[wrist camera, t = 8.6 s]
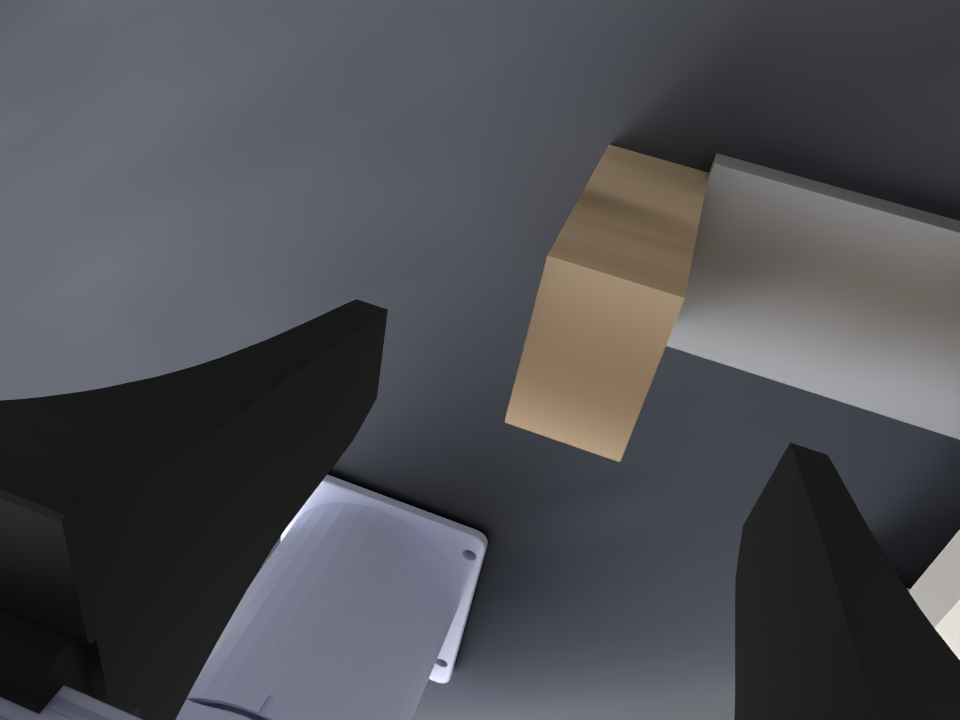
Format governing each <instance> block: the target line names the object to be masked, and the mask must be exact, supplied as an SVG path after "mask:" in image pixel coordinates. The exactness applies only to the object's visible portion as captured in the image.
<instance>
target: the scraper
mask: <svg viewBox="0 0 960 720" xmlns="http://www.w3.org/2000/svg"><path fill="white" fill-rule="evenodd" d="M666 346H668V347H672V348H675V349H678V350H681V351H684V352H687V353H690V354H693V355H697V356H700V357H703V358H706V359H709V360H712V361H715V362H718V363H722V364H725V365H728V366H731V367H734V368H737V369H740V370H743V371H747V372H750V373H753V374H756V375H759V376H762V377H765V378H768V379H772V380H775V381H778V382H781V383H784V384H787V385H790V386H793V387H797V388H800V389H803V390H806V391H809V392H812V393H815V394H818V395H822V396H825V397H828V398H831V399H834V400H837V401H840V402H843V403H847V404H850V405H853V406H856V407H859V408H862V409H865V410H868V411H872V412H875V413H878V414H881V415H884V416H887V417H890V418H893V419H897V420H900V421H903V422H906V423H909V424H912V425H915V426H918V427H922V428H925V429H928V430H931V431H934V432H937V433H940V434H943V435H947V436H950V437H953V438H956V439H959V440H960V221H958V220H954V219H951V218H947V217H944V216H940V215H936V214H933V213H929V212H926V211H922V210H918V209H915V208H911V207H908V206H904V205H901V204H897V203H893V202H890V201H886V200H883V199H879V198H876V197H872V196H868V195H865V194H861V193H858V192H854V191H850V190H847V189H843V188H840V187H836V186H833V185H829V184H825V183H822V182H818V181H815V180H811V179H807V178H804V177H800V176H797V175H793V174H790V173H786V172H782V171H779V170H775V169H772V168H768V167H765V166H761V165H757V164H754V163H750V162H747V161H743V160H739V159H736V158H732V157H729V156H725V155H722V154H718V153H716V155H715V158H714V160H713V163H712V166H711V168H710V171H709V173H708V172H704V171H701V170H697V169H694V168H690V167H687V166H683V165H680V164H676V163H673V162H669V161H666V160H662V159H659V158H655V157H652V156H648V155H645V154H641V153H637V152H634V151H630V150H627V149H623V148H620V147H616V146H613V145H608V147H607V148H606V150H605V152H604V154H603V156H602V157H601V159H600V161H599V163H598V165H597V166H596V168H595V170H594V172H593V174H592V176H591V177H590V179H589V181H588V183H587V185H586V186H585V188H584V190H583V192H582V194H581V195H580V197H579V199H578V201H577V203H576V205H575V206H574V208H573V210H572V212H571V214H570V215H569V217H568V219H567V221H566V223H565V224H564V226H563V228H562V230H561V232H560V233H559V235H558V237H557V239H556V241H555V243H554V244H553V246H552V248H551V250H550V252H549V253H548V255H547V259H546V263H545V266H544V270H543V274H542V278H541V282H540V286H539V290H538V294H537V298H536V301H535V305H534V309H533V313H532V317H531V321H530V325H529V329H528V333H527V336H526V340H525V344H524V348H523V352H522V356H521V360H520V364H519V368H518V371H517V375H516V379H515V383H514V387H513V391H512V395H511V399H510V403H509V406H508V410H507V414H506V418H505V423H508V424H511V425H514V426H517V427H520V428H523V429H525V430H528V431H531V432H534V433H537V434H540V435H543V436H546V437H548V438H551V439H554V440H557V441H560V442H563V443H566V444H569V445H572V446H574V447H577V448H580V449H583V450H586V451H589V452H592V453H595V454H598V455H600V456H603V457H606V458H609V459H612V460H615V461H618V462H620V461H621V459H622V456H623V454H624V451H625V448H626V446H627V443H628V441H629V438H630V436H631V433H632V431H633V428H634V426H635V423H636V421H637V418H638V415H639V413H640V410H641V408H642V405H643V403H644V400H645V398H646V395H647V393H648V390H649V388H650V385H651V383H652V380H653V377H654V375H655V372H656V370H657V367H658V365H659V362H660V360H661V357H662V355H663V352H664V350H665V347H666Z"/></svg>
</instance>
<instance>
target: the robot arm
mask: <svg viewBox="0 0 960 720" xmlns="http://www.w3.org/2000/svg"><path fill="white" fill-rule="evenodd" d="M387 311H388V310H387V309H384V308H381V307H378V306H375V305H372V304H369V303H366V302H363V301H360V300H357V299H356V300H354V301H352V302H349V303H347V304H345V305H342V306H340V307H338V308H336V309H334V310H332V311H329V312H327V313H325V314H323V315H321V316H319V317H317V318H315V319H312V320H310V321H308V322H306V323H304V324H301V325H299V326H297V327H295V328H293V329H290V330H288V331H286V332H284V333H281V334H279V335H277V336H275V337H272V338H270V339H268V340H265V341H262V342H260V343H257V344H255V345H252V346H250V347H247V348H244V349H242V350H239V351H237V352H234V353H232V354H229V355H226V356H224V357H221V358H218V359H215V360H212V361H209V362H206V363H203V364H200V365H197V366H194V367H190V368H187V369H183V370H180V371H176V372H173V373H169V374H165V375H162V376H158V377H153V378H149V379H144V380H139V381H135V382H130V383H125V384H121V385H116V386H111V387H107V388H101V389H96V390H89V391H83V392H77V393H70V394H62V395H54V396H47V397H38V398H29V399H18V400H3V401H0V720H412V718H413V716H414V713H415V711H416V709H417V706H418V704H419V701H420V699H421V697H422V694H423V692H424V689H425V687H426V684H427V682H428V680H429V679H431V680H433V681H436V682H439V683H446V682H448V681H449V680H450V678H451V675H452V672H453V668H454V665H455V661H456V657H457V654H458V650H459V646H460V643H461V639H462V636H463V632H464V628H465V625H466V621H467V617H468V614H469V610H470V606H471V603H472V599H473V596H474V592H475V588H476V585H477V581H478V577H479V574H480V570H481V566H482V563H483V559H484V556H485V552H486V548H487V545H488V540H487V538H486V536H485V535H484V534H483V533H482V532H480V531H478V530H475V529H473V528H470V527H467V526H465V525H462V524H459V523H457V522H454V521H451V520H449V519H446V518H443V517H440V516H438V515H435V514H432V513H430V512H427V511H424V510H422V509H419V508H416V507H413V506H411V505H408V504H405V503H403V502H400V501H397V500H395V499H392V498H389V497H387V496H384V495H381V494H378V493H376V492H373V491H370V490H368V489H365V488H362V487H360V486H357V485H354V484H352V483H349V482H346V481H343V480H341V479H338V478H335V477H333V476H330V475H327V474H328V473H329V472H330V470H331V469H332V468H333V466H334V465H335V464H336V462H337V461H338V460H339V458H340V457H341V456H342V454H343V453H344V452H345V450H346V449H347V448H348V446H349V445H350V443H351V442H352V441H353V439H354V437H355V436H356V434H357V432H358V431H359V429H360V427H361V425H362V424H363V422H364V420H365V418H366V416H367V415H368V413H369V411H370V409H371V407H372V405H373V404H374V402H375V400H376V398H377V392H378V384H379V376H380V368H381V360H382V351H383V343H384V335H385V327H386V319H387ZM280 536H281V542H280V544H279V545H278V547H277V548H276V549H275V551H274V552H273V554H272V555H271V557H270V558H269V559H268V561H267V562H266V564H265V565H264V566H263V568H262V569H261V571H260V572H259V573H258V571H259V569H260V568H261V566H262V564H263V563H264V561H265V560H266V558H267V556H268V555H269V553H270V551H271V550H272V548H273V546H274V545H275V544H276V542H277V541H278V539H279V538H280ZM469 550H470V551H469ZM471 551H472V552H471ZM257 573H258V575H257V576H256V574H257ZM255 576H256V578H255ZM254 578H255V579H254ZM253 579H254V580H253ZM252 581H253V582H252ZM250 584H251V585H250ZM735 720H960V660H959V659H958V657H957V656H956V655H955V654H954V652H953V651H952V650H951V649H950V647H949V646H948V645H947V643H946V642H945V641H944V640H943V638H942V637H941V636H940V635H939V633H938V632H937V631H936V630H935V628H934V627H933V625H932V624H931V623H930V621H929V620H928V619H927V617H926V616H925V615H924V613H923V612H922V610H921V609H920V608H919V606H918V605H917V603H916V602H915V600H914V599H913V597H912V596H911V594H910V593H909V591H908V590H907V588H906V587H905V586H904V584H903V583H902V581H901V580H900V578H899V577H898V575H897V574H896V572H895V570H894V569H893V567H892V566H891V564H890V563H889V561H888V559H887V558H886V556H885V555H884V553H883V551H882V550H881V548H880V546H879V545H878V543H877V541H876V540H875V538H874V536H873V535H872V533H871V531H870V529H869V528H868V526H867V524H866V523H865V521H864V519H863V517H862V516H861V514H860V512H859V510H858V508H857V507H856V505H855V503H854V501H853V499H852V498H851V496H850V494H849V492H848V490H847V489H846V487H845V485H844V483H843V481H842V479H841V478H840V476H839V474H838V472H837V470H836V469H835V467H834V465H833V463H832V462H831V460H830V458H829V457H828V455H826V454H823V453H820V452H817V451H814V450H811V449H808V448H805V447H802V446H799V445H796V444H792V443H790V444H789V446H788V448H787V449H786V451H785V453H784V455H783V456H782V458H781V460H780V462H779V464H778V465H777V467H776V469H775V471H774V472H773V474H772V476H771V478H770V479H769V481H768V483H767V485H766V487H765V488H764V490H763V492H762V494H761V495H760V497H759V499H758V501H757V502H756V504H755V506H754V508H753V509H752V511H751V513H750V515H749V517H748V518H747V520H746V522H745V524H744V525H743V531H742V537H741V544H740V550H739V557H738V565H737V572H736V591H735Z"/></svg>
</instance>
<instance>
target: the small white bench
mask: <svg viewBox="0 0 960 720" xmlns="http://www.w3.org/2000/svg"><path fill="white" fill-rule="evenodd" d="M907 590H908V591H909V593H910V594H911V596H912V597H913V599H914V600H915V602H916V603H917V605H918V606H919V608H920V609H921V610H922V612H923V613H924V615H925V616H926V617H927V619H928V620H929V621H930V623H931V624H932V625H933V627H934V628H935V630H936V631H937V632H938V633H939V635H940V636H941V637H942V638H943V640H944V641H945V642H946V643H947V645H948V646H949V647H950V649H951V650H952V651H953V652H954V654H955V655H956V656H957V657H958V659H959V660H960V530H959V531H958V532H957V533H956V535H955V536H954V537H953V538H952V539H951V541H950V542H949V543H948V544H947V545H946V547H945V548H944V549H943V550H942V551H941V553H940V554H939V555H938V556H937V558H936V559H935V560H934V561H933V562H932V564H931V565H930V566H929V567H928V568H927V570H926V571H925V572H924V573H923V574H922V576H921V577H920V578H919V579H918V581H917V582H916V583H915V584H914V585H913V587H912V588H911V589H909V588H907Z"/></svg>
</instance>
